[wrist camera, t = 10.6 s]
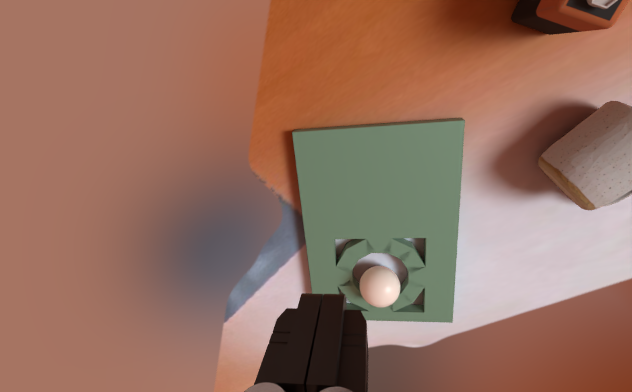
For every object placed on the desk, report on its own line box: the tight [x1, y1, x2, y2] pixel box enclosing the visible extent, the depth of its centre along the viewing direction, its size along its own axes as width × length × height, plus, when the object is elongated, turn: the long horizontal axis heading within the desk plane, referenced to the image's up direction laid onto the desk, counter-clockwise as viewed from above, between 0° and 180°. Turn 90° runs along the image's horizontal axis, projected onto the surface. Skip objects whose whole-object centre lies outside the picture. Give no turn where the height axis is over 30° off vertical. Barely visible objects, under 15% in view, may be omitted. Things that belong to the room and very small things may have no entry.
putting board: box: [292, 118, 465, 322], centre depth 42 cm, size 26×18×2 cm
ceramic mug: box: [538, 101, 632, 210], centre depth 33 cm, size 11×8×8 cm
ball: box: [360, 266, 400, 307], centre depth 43 cm, size 5×5×5 cm
